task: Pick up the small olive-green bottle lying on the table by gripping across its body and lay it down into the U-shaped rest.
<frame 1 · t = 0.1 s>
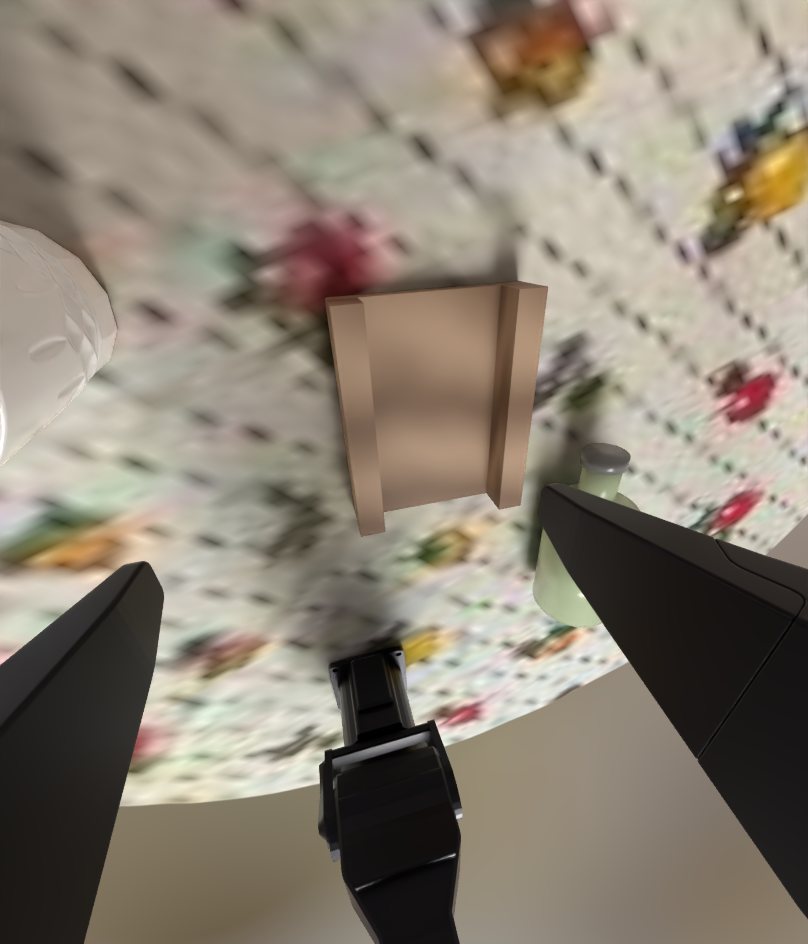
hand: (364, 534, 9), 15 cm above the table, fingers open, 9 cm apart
rest: (428, 406, 24), on the table
white cup: (29, 309, 17), on the table
bottle: (558, 530, 33), on the table
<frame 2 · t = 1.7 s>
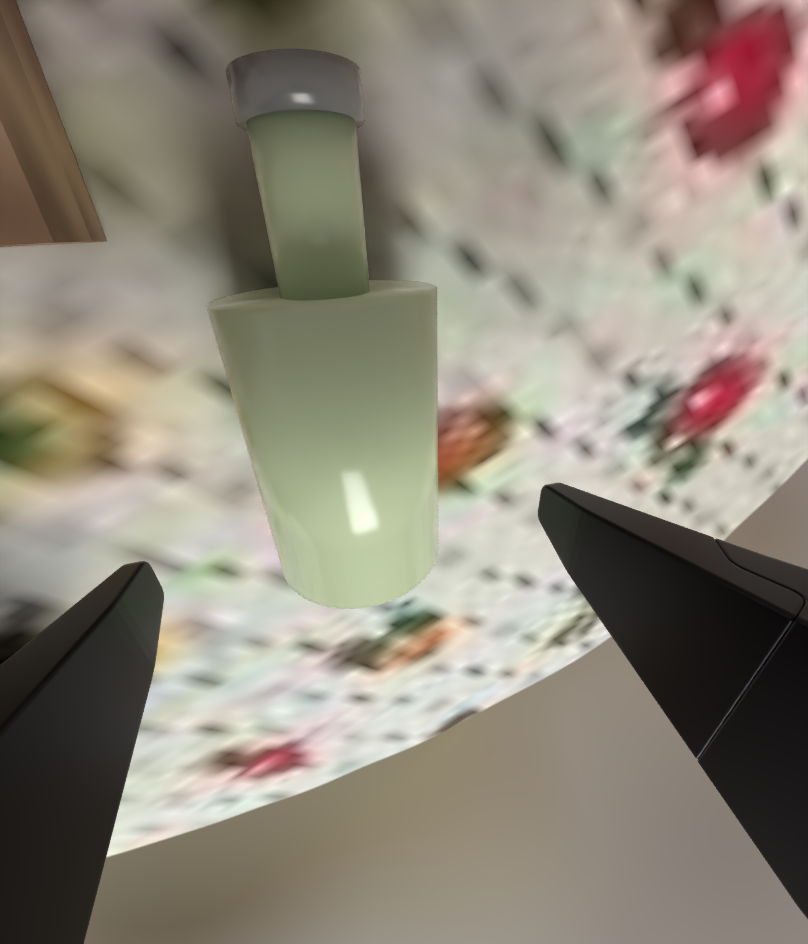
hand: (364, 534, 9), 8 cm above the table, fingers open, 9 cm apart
bottle: (336, 409, 16), on the table
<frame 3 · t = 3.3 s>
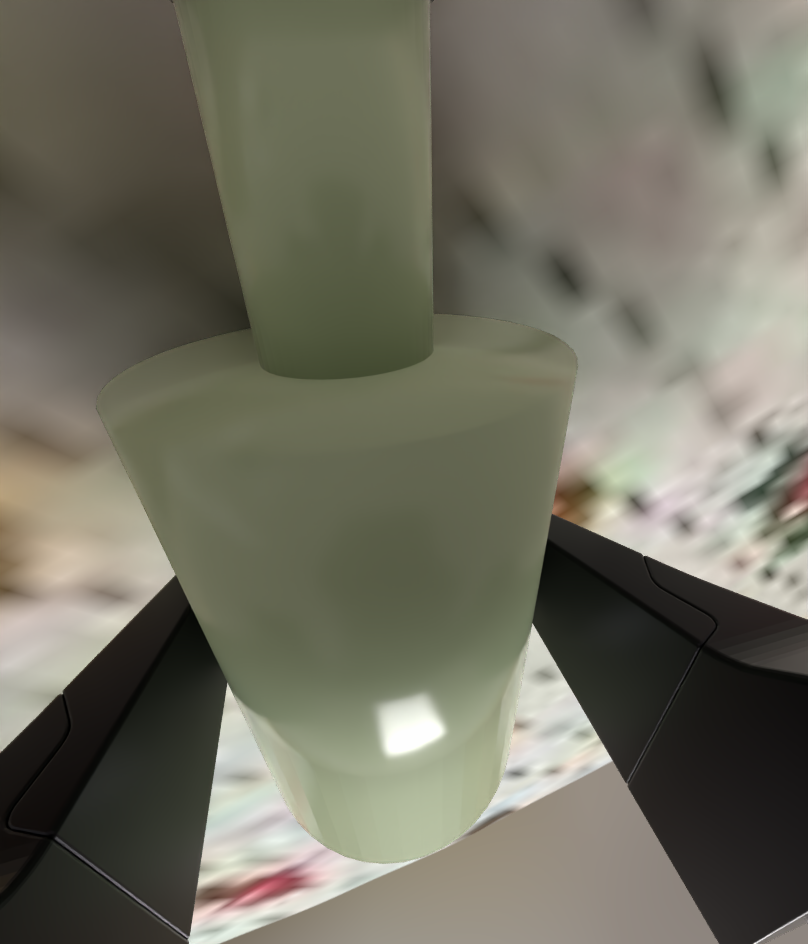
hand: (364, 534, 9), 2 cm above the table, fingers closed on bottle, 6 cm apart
bottle: (354, 498, 10), on the table, touching gripper
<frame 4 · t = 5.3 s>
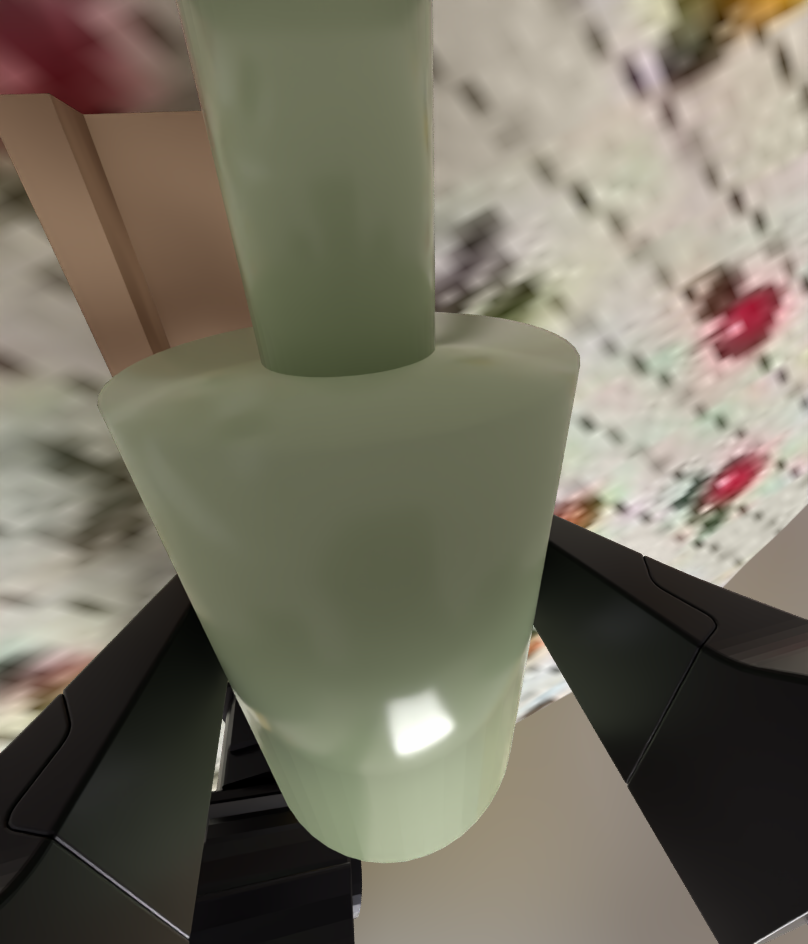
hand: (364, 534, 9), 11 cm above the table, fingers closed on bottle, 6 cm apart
rest: (269, 322, 17), on the table
bottle: (355, 497, 10), point 10 cm above the table, touching gripper
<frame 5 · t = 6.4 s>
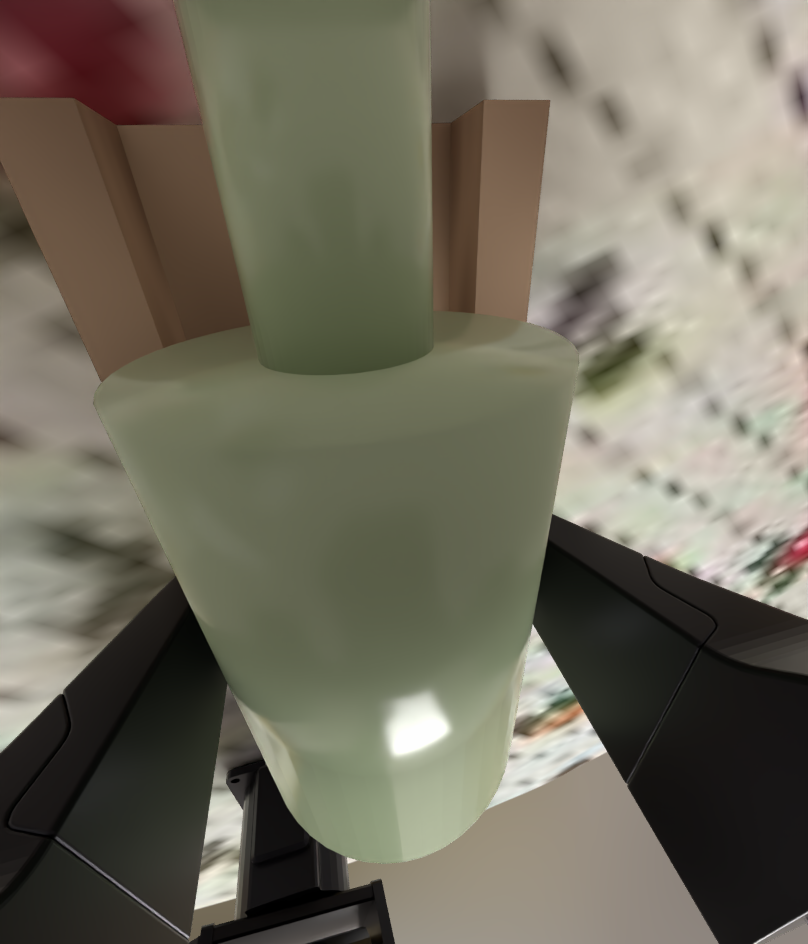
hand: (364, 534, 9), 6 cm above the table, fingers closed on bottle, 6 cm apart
rest: (332, 384, 13), on the table
bottle: (354, 496, 10), point 5 cm above the table, touching gripper
when the fingers open (5 cm above the table, at t = 7.4 s): bottle drops 3 cm, resting on rest.
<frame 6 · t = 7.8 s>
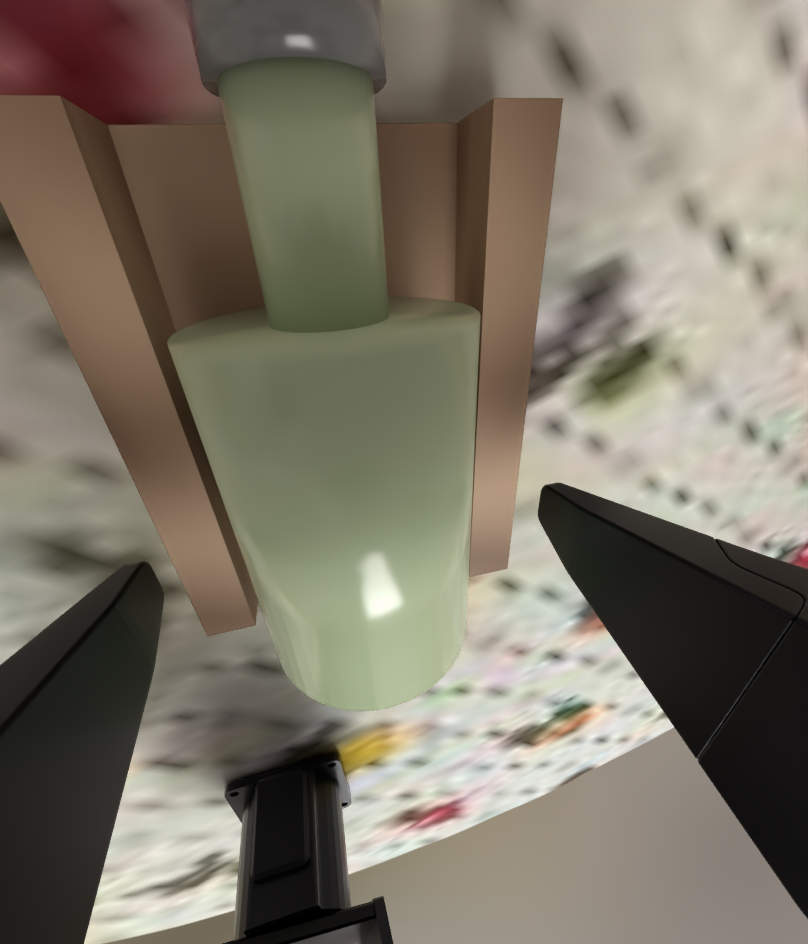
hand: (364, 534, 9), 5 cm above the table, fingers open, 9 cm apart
rest: (333, 392, 13), on the table
bottle: (342, 449, 13), point 1 cm above the table, touching rest
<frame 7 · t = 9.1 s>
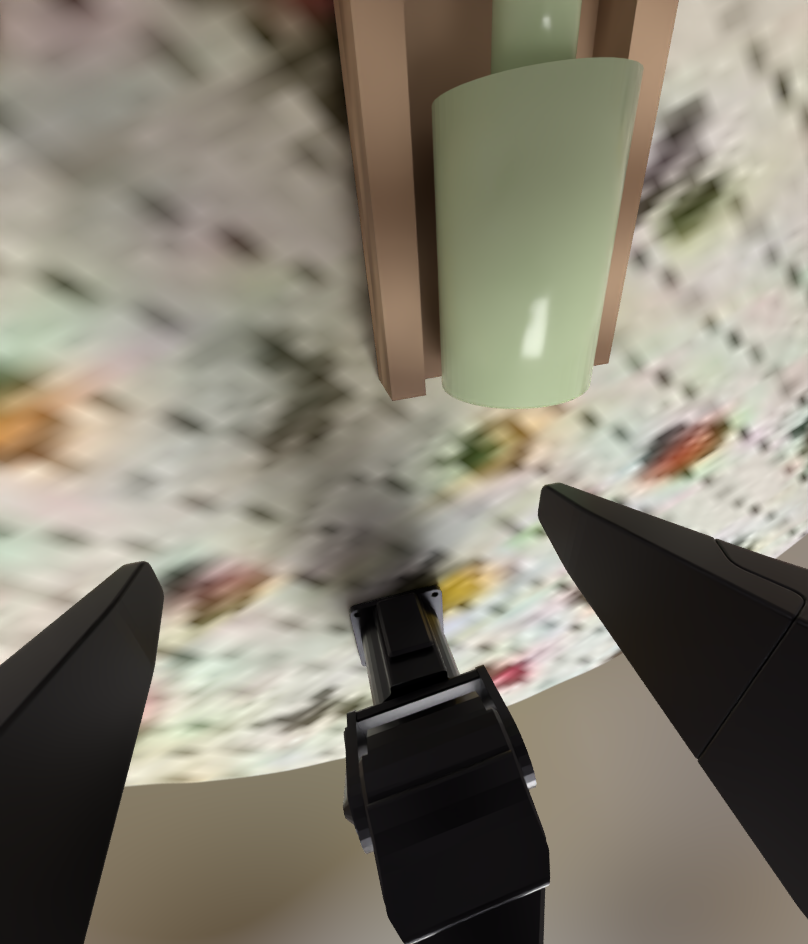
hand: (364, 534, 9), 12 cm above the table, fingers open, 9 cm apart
rest: (481, 212, 17), on the table
bottle: (489, 255, 17), point 1 cm above the table, touching rest
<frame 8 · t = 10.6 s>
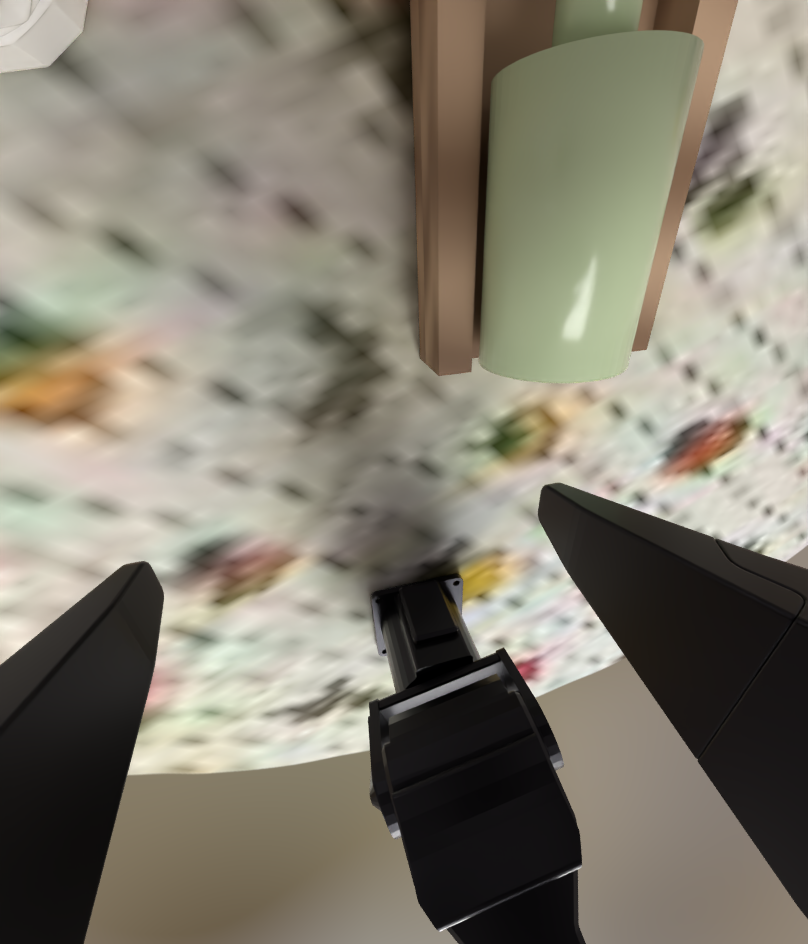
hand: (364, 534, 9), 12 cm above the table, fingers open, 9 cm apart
rest: (531, 196, 17), on the table
bottle: (538, 238, 17), point 1 cm above the table, tilted 11°, touching rest
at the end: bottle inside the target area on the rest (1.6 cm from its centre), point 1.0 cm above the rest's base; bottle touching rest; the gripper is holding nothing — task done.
